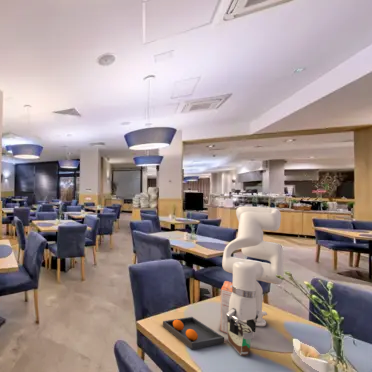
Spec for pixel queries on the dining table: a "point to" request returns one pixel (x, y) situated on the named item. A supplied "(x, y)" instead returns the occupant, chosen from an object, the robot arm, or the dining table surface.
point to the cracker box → (225, 304)
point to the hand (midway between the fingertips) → (242, 331)
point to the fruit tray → (204, 333)
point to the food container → (240, 338)
